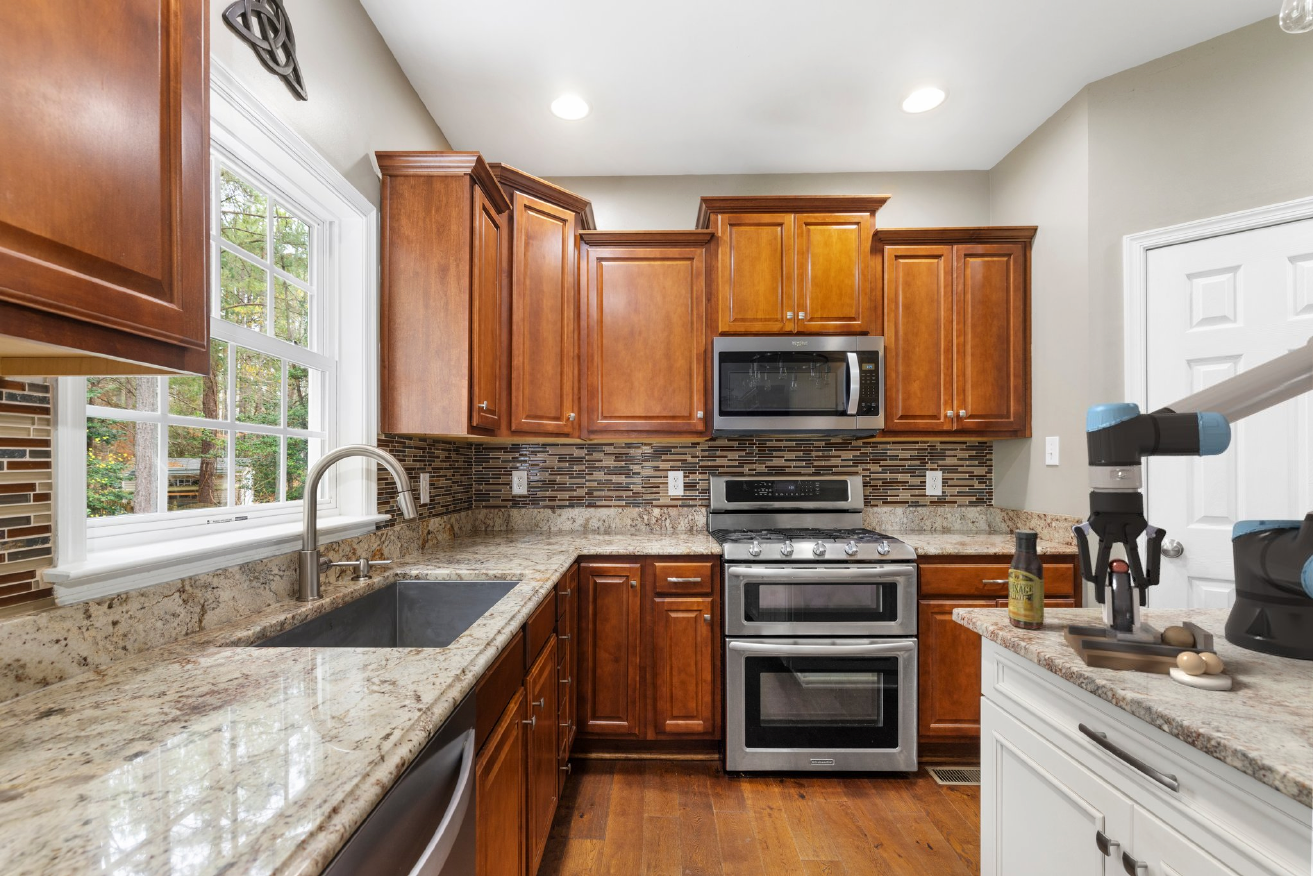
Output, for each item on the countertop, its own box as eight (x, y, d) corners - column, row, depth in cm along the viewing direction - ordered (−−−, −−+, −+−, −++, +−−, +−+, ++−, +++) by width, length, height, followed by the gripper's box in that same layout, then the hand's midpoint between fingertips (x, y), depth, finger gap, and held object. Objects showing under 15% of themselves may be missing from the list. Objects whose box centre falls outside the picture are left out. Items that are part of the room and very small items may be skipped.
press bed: (1182, 649, 105) (1181, 616, 106) (1227, 680, 91) (1225, 641, 91) (1064, 638, 112) (1062, 607, 113) (1087, 666, 98) (1085, 630, 98)
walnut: (1188, 647, 100) (1187, 624, 101) (1199, 654, 97) (1197, 630, 97) (1159, 645, 102) (1158, 622, 102) (1168, 652, 98) (1167, 628, 98)
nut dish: (1218, 677, 92) (1216, 647, 92) (1241, 693, 86) (1239, 662, 86) (1162, 671, 95) (1161, 642, 95) (1181, 686, 89) (1179, 656, 89)
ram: (1147, 640, 104) (1143, 556, 104) (1161, 651, 98) (1157, 563, 98) (1105, 636, 106) (1101, 555, 107) (1116, 647, 100) (1113, 560, 101)
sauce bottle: (1002, 624, 123) (998, 529, 123) (1021, 620, 125) (1017, 528, 126) (1033, 632, 117) (1029, 533, 117) (1052, 628, 119) (1048, 531, 120)
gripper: (1065, 491, 103) (1071, 624, 102) (1182, 491, 97) (1189, 634, 96) (1056, 488, 110) (1061, 613, 109) (1164, 489, 104) (1171, 622, 103)
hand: (1121, 623), depth 103 cm, fingers closed on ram, 3 cm apart
